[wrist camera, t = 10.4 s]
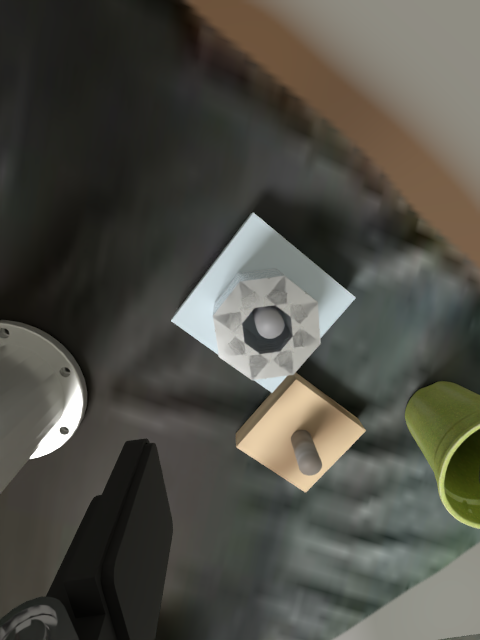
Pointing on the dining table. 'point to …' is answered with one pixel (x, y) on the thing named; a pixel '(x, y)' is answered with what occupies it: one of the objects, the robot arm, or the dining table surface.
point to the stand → (298, 432)
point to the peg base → (249, 255)
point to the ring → (254, 350)
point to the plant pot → (450, 444)
